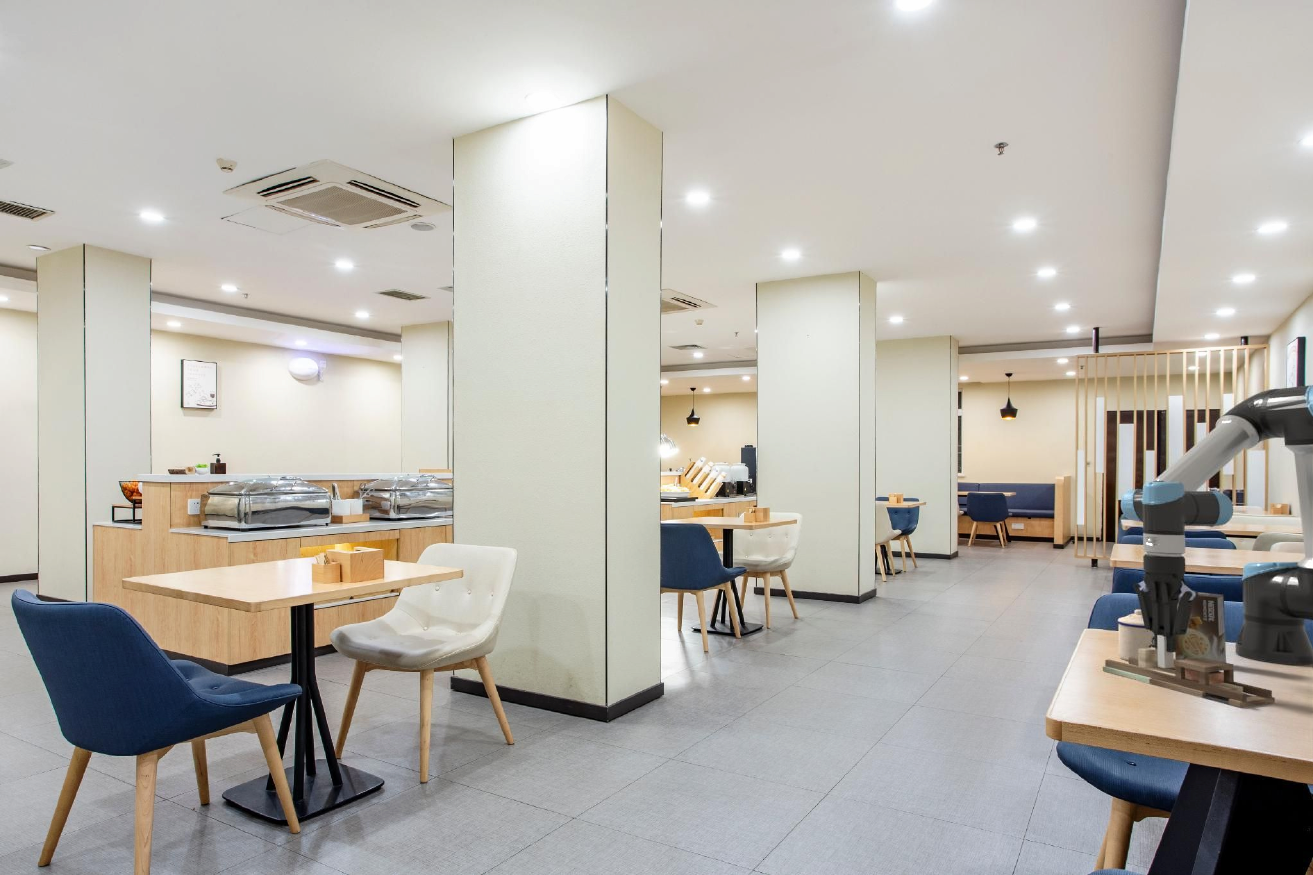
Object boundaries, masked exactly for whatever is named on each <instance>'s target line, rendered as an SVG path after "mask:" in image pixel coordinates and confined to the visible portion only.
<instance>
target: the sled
mask: <svg viewBox="0 0 1313 875" xmlns="http://www.w3.org/2000/svg"><path fill="white" fill-rule="evenodd" d="M1138 667H1141V668H1145V669H1149V670H1153V671H1157V672H1161V673H1165V674H1169V675H1173V676H1175V671H1174V670H1170V669H1166V668H1162V667H1158V650H1157V649H1155V648H1143V649H1138ZM1185 679H1190V680H1194V681H1198V682H1199V671H1196V670H1192V669H1188V668H1185ZM1209 684H1210V685H1214V686H1218V687H1222V688H1226V689H1230V690H1234V691H1238V692H1242V693H1243V687H1240V686H1236V685H1232V684H1228V683H1224V672H1223V671H1214V672H1209Z"/></svg>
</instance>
